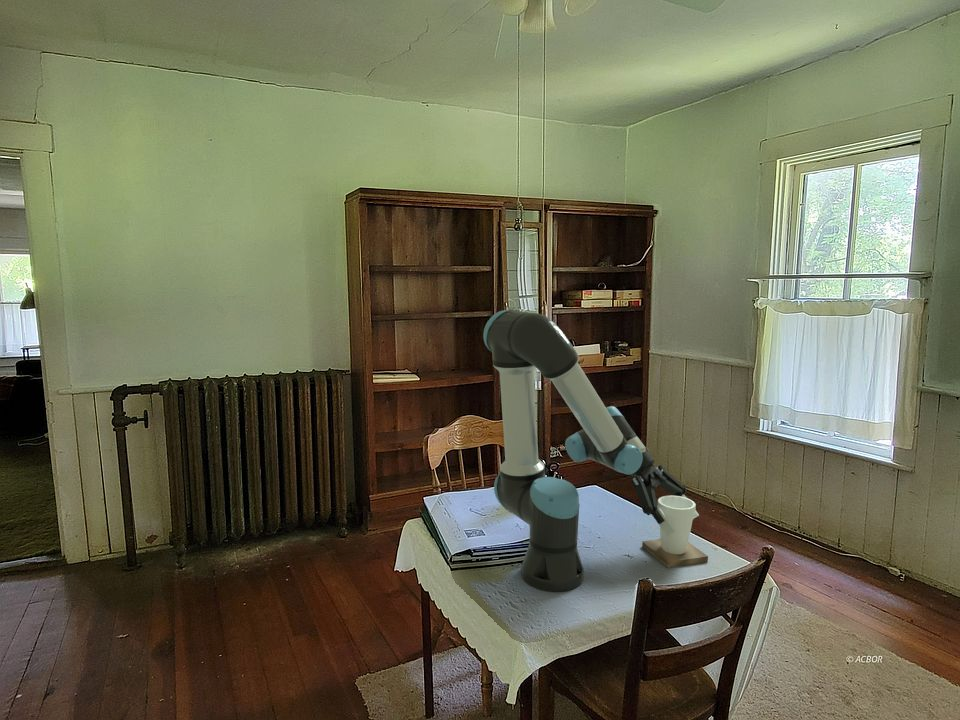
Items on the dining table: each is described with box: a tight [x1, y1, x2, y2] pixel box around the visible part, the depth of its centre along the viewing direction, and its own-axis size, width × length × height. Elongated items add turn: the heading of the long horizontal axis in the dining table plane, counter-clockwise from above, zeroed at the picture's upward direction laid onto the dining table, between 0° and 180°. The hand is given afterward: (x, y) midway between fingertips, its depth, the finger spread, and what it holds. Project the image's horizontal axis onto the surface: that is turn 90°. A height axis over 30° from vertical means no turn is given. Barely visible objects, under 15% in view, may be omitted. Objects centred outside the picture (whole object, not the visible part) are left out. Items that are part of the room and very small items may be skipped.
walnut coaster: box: [641, 538, 709, 569], centre depth 160 cm, size 12×12×2 cm
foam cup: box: [657, 494, 697, 554], centre depth 159 cm, size 10×9×13 cm
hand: (683, 525), depth 157 cm, fingers open, 13 cm apart
